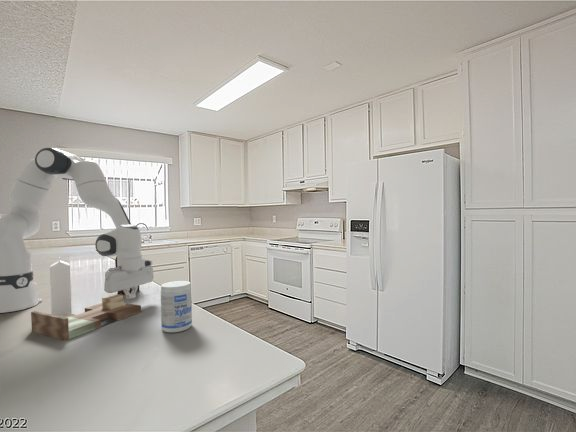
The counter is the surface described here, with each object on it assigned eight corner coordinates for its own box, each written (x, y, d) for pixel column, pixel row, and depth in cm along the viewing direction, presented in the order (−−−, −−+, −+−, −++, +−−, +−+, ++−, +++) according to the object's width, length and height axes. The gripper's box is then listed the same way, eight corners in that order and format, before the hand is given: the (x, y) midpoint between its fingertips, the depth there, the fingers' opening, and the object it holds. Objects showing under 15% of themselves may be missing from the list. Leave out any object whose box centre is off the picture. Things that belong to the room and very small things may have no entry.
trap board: (31, 331, 98) (31, 312, 98) (109, 306, 123) (109, 290, 123) (65, 340, 91) (64, 319, 91) (141, 311, 115) (140, 295, 115)
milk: (51, 318, 110) (48, 259, 110) (52, 314, 115) (49, 257, 114) (72, 314, 114) (69, 257, 113) (71, 310, 119) (69, 255, 118)
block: (102, 308, 113) (102, 297, 113) (114, 304, 118) (114, 294, 118) (111, 309, 111) (110, 298, 111) (123, 305, 116) (123, 295, 116)
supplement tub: (179, 335, 93) (178, 288, 93) (154, 332, 96) (153, 286, 95) (198, 323, 102) (196, 281, 102) (174, 321, 105) (173, 279, 105)
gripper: (110, 269, 111) (112, 306, 111) (155, 260, 129) (156, 292, 130) (99, 268, 113) (100, 305, 113) (145, 259, 132) (145, 291, 132)
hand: (130, 298), depth 122 cm, fingers closed
